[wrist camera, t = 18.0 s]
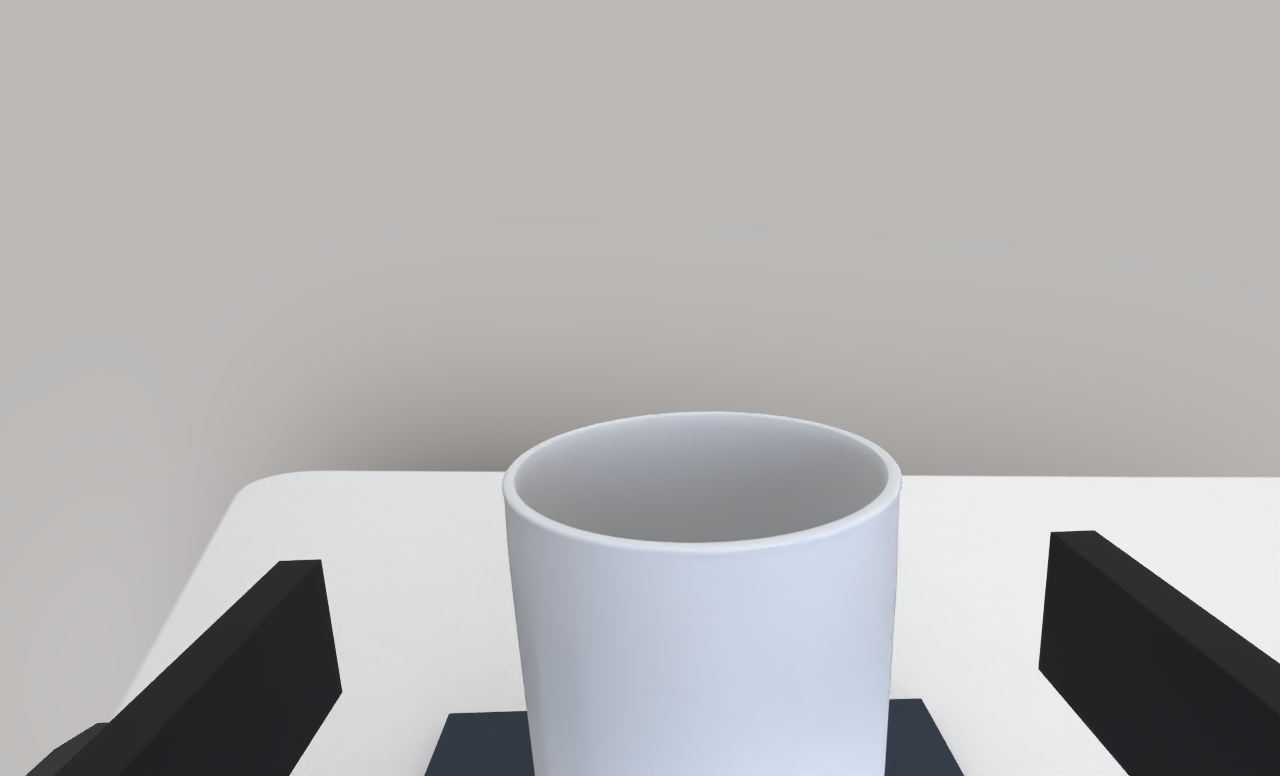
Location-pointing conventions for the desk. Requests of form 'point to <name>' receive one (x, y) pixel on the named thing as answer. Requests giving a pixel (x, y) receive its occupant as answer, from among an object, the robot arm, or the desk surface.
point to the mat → (504, 770)
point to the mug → (705, 596)
